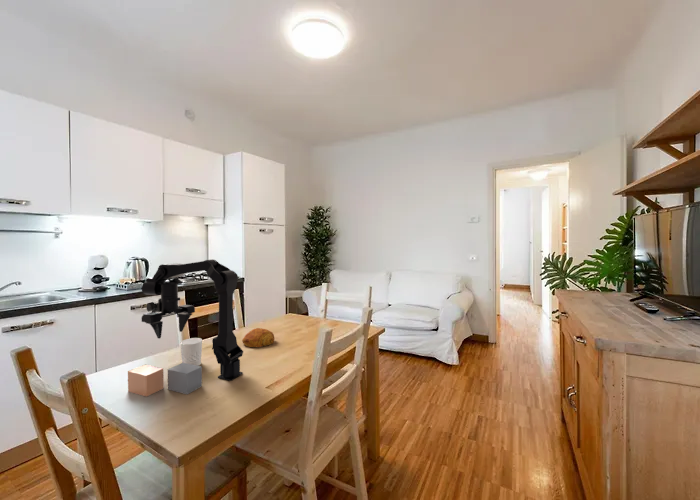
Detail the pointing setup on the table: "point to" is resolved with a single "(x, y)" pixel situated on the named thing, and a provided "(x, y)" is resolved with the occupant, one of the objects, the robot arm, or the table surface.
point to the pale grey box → (184, 378)
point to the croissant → (258, 338)
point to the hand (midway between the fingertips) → (170, 334)
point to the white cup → (191, 351)
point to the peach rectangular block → (145, 380)
